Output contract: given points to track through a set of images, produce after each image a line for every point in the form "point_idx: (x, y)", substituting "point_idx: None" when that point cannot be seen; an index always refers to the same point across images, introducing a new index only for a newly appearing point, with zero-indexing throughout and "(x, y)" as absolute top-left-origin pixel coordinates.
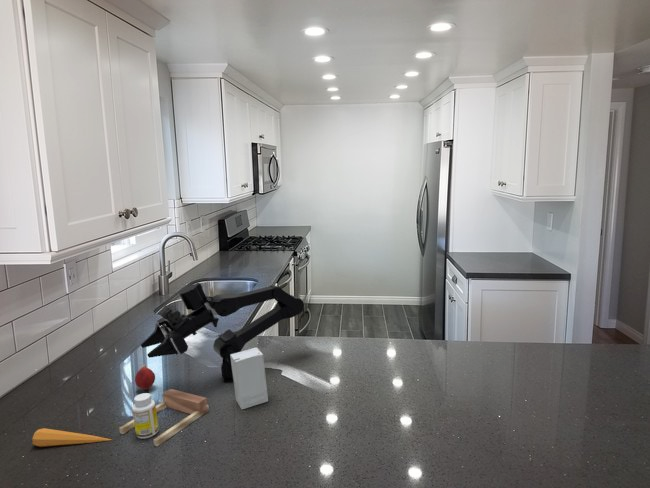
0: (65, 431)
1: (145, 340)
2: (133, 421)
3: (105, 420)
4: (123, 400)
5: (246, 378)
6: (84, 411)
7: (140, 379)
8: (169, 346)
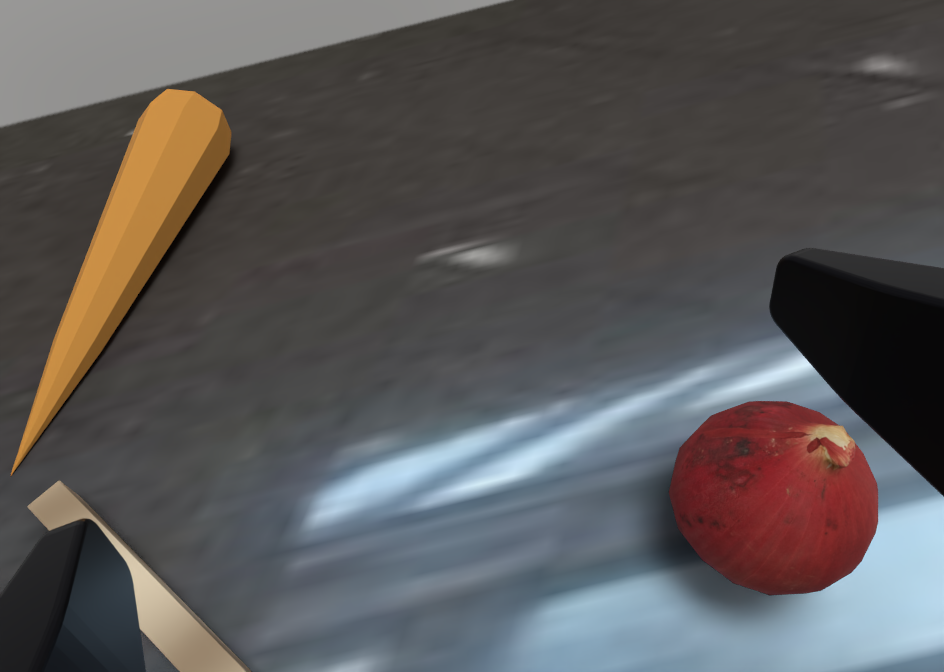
0: (139, 200)
1: (933, 279)
2: None
3: (315, 361)
4: (571, 400)
5: None
6: (477, 229)
7: (691, 462)
8: None
